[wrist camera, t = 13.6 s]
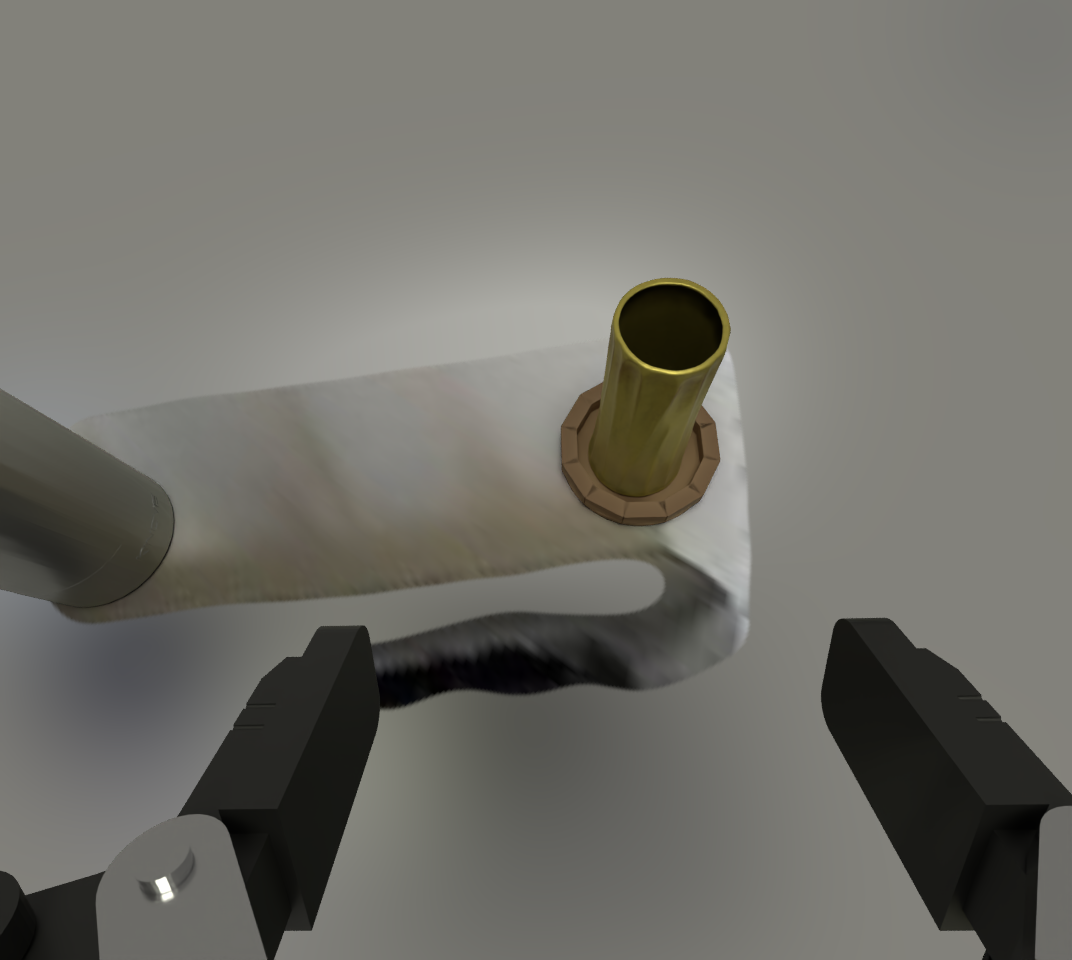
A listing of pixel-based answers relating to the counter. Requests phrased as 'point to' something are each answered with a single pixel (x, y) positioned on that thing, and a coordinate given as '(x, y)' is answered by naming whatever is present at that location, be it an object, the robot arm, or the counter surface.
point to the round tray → (628, 509)
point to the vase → (655, 382)
